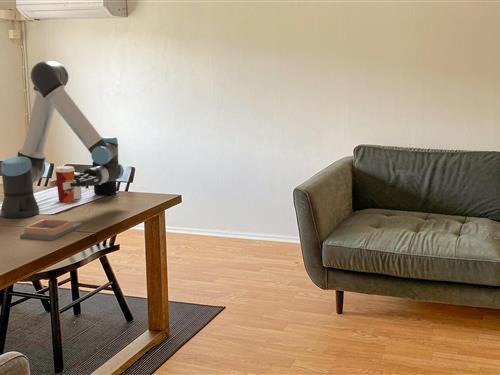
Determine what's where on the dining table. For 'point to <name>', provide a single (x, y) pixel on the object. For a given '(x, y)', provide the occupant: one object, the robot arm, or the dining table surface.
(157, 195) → the dining table surface
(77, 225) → the cup stand
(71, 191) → the paper cup
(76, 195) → the cylinder with rectangular tab
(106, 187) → the coffee jar
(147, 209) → the dining table surface
